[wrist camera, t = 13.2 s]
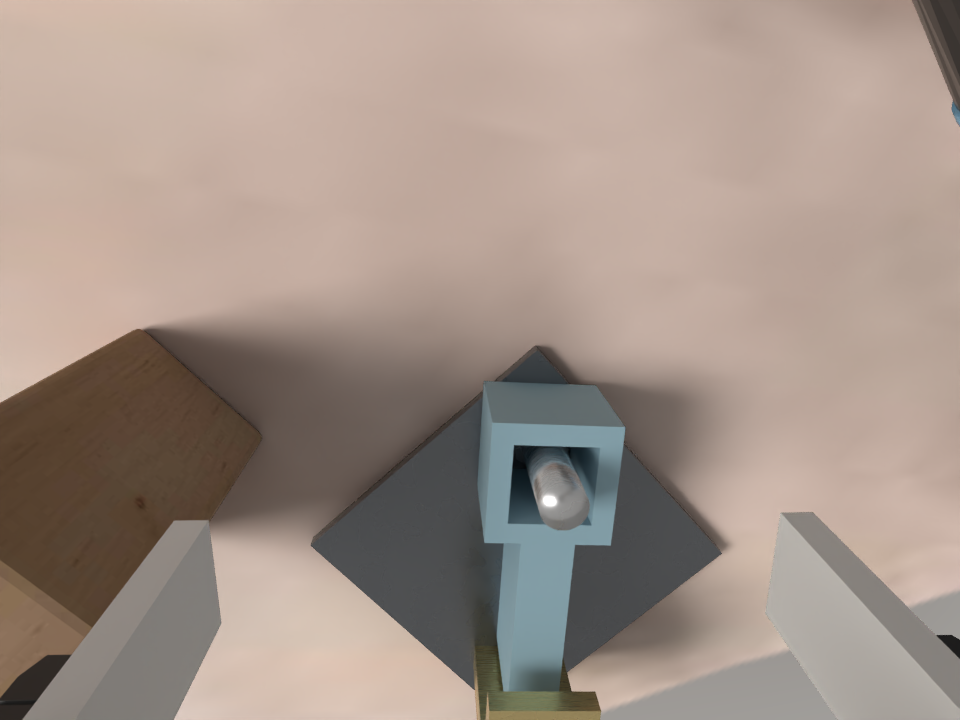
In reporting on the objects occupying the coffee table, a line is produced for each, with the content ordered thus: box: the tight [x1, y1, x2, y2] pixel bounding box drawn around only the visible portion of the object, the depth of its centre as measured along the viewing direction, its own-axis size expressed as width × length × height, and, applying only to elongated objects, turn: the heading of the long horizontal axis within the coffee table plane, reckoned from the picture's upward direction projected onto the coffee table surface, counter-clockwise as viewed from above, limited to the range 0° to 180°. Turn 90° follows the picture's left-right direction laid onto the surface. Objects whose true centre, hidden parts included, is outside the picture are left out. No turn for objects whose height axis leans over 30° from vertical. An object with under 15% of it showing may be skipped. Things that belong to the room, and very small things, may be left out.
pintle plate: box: [311, 346, 722, 720], centre depth 41 cm, size 20×20×11 cm
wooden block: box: [0, 329, 262, 697], centre depth 33 cm, size 10×10×20 cm
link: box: [477, 381, 626, 692], centre depth 41 cm, size 18×7×7 cm, turn 177°
